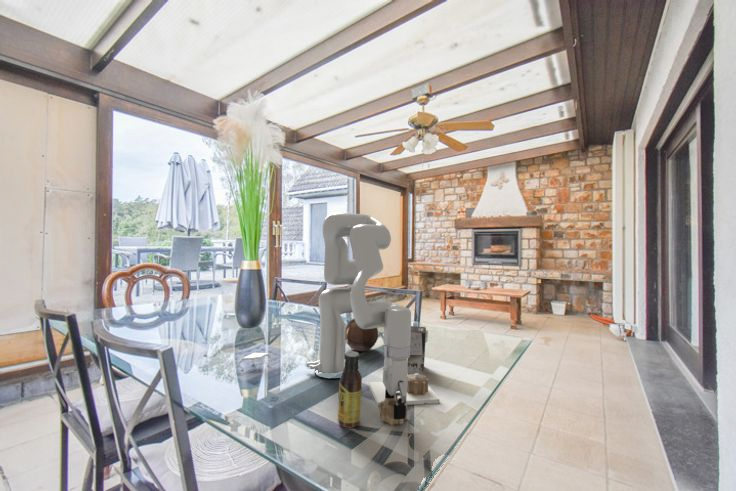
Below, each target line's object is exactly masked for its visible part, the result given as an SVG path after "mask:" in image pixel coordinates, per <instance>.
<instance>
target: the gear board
mask: <svg viewBox="0 0 736 491" xmlns="http://www.w3.org/2000/svg"><path fill="white" fill-rule="evenodd" d="M368 386H369V390H370V391H371V394H372V396H373V398H374V401H375V403H376V405H377V407H380V405H381V401H382V402H383V401H384V400H385V386H384V384H383V381H372V382H370V381H369V382H368ZM396 393H400V391H397V392H396ZM406 394H407V397H406V405H407V406H408V405H410V406H411V405H425V404H424V403H429V404H439V403H440V397H438V395H437V394H436V393H435V392H434V391H433V389H432V388H431V387H430V385H429V378H427V376H426V375H424V374H423V375H420V374H418V373H415V374H412V373H408V385H407V393H406ZM397 398H398V399H399V398H401V397H400V396H397Z"/></svg>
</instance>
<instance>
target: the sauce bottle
mask: <svg viewBox="0 0 736 491" xmlns="http://www.w3.org/2000/svg"><path fill="white" fill-rule="evenodd" d="M359 360H360V352H359V351H356V350H353V351H352V350H349V351H345V364H344V366H345V367H344V370H343V373H342V376H341V378H340V379H339V383H338V402H337V403H338V407H337V420H338V424H339V425H340V426H341V427H342V428H348V429H350V428H355V427H358V425H359V424H360V421H361V407H362V390H363V387H362V382H363V379H362V374H361V372H360V371H359Z"/></svg>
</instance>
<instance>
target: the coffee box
mask: <svg viewBox="0 0 736 491" xmlns="http://www.w3.org/2000/svg"><path fill="white" fill-rule="evenodd" d="M426 331H427V327H426V326H417V325H416V326H413V325H411V336H410V357H409V358H408V359H407V366H408V367H407V369H408V374H415V373H418V374H420V375H423V376H424V368H425V359H426V358H425V355H426V337H427V336H426V335H427V334H426V333H427V332H426Z"/></svg>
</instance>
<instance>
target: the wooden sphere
mask: <svg viewBox="0 0 736 491" xmlns="http://www.w3.org/2000/svg"><path fill="white" fill-rule="evenodd" d="M378 339H379V330H378V328H373V329H362V328H360V327H359V326H358V325H357V323H356V322H355V319H354V318H352V319H351V320H350V321H349V322H348V323H347V324H346V339H345V343H346V344H347V345H348V346H349V347H350V348H351V349H352V350H353V351H355V352H366V351H368V350H370V349H372V348H373V347H374V346H375V345H376V343H377V341H378Z"/></svg>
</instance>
